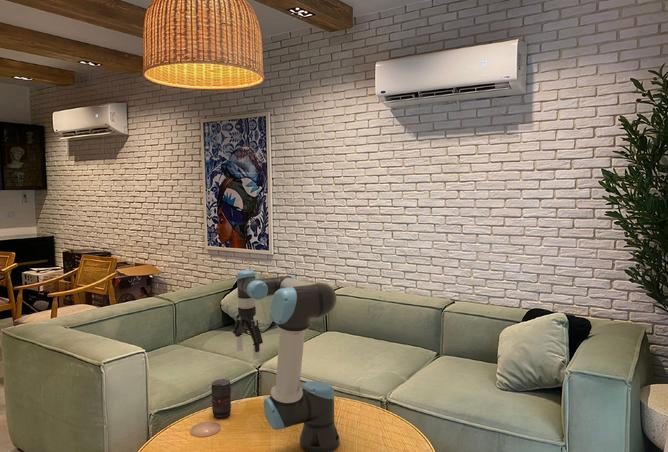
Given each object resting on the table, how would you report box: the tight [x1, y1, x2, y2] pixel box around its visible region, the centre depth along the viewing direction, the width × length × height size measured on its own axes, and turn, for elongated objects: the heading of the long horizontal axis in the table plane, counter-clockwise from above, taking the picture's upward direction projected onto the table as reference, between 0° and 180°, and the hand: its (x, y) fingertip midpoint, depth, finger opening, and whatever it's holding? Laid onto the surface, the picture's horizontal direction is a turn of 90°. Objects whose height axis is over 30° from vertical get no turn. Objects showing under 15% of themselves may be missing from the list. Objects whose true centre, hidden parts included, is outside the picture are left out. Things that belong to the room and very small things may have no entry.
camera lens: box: [210, 378, 232, 420], centre depth 214 cm, size 8×8×15 cm
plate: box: [189, 421, 222, 438], centre depth 202 cm, size 12×12×1 cm
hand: (247, 354), depth 215 cm, fingers open, 13 cm apart
